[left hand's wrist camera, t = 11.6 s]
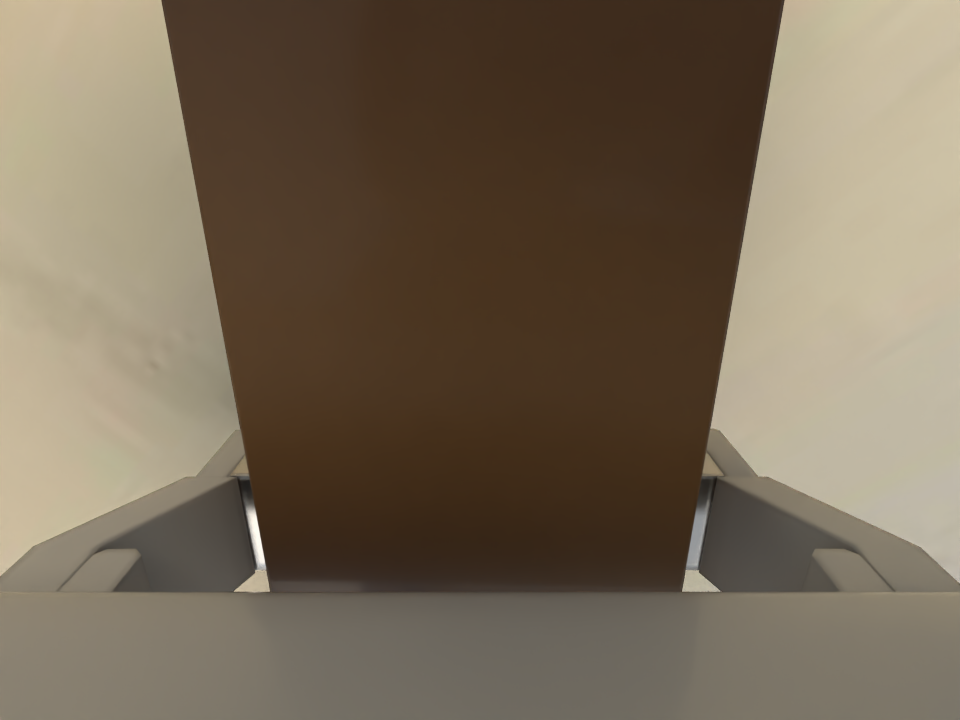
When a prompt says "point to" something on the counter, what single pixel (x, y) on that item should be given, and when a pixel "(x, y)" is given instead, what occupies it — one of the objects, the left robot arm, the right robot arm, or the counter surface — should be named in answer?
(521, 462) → the beam
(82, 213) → the counter surface
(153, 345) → the counter surface
